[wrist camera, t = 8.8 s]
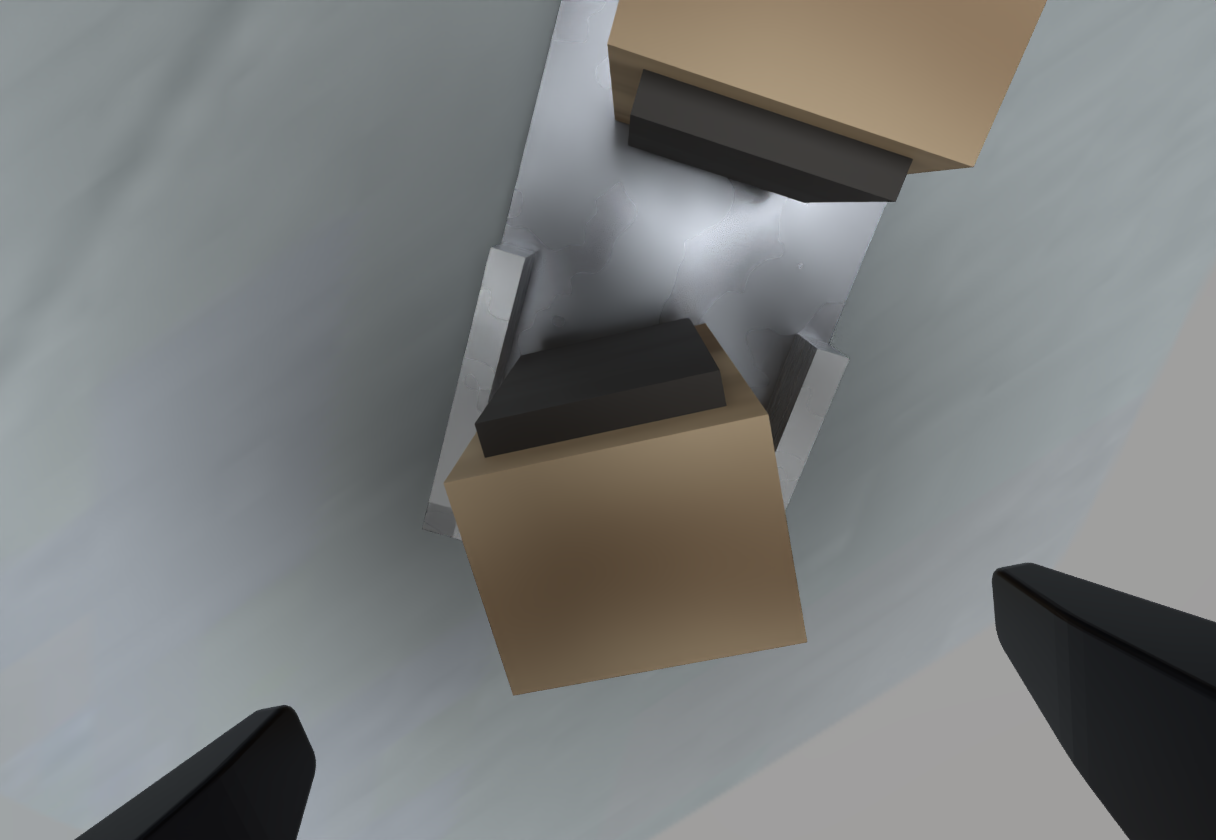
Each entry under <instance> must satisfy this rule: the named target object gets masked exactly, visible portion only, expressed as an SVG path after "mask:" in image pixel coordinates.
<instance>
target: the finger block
mask: <svg viewBox="0 0 1216 840" xmlns="http://www.w3.org/2000/svg"><path fill="white" fill-rule="evenodd" d="M475 428H476V431H477V432H476V434H475V435H474V437H473V438H472V440H471V441H470V443H469V444H468V446H467V447H466V449H465V451H464V452H463V454H462V455H461V457H460V458H459V460H458V461H457V463H456V464H455V466H454V468H453V469H452V471H451V472H450V474H449V475H448V477H447V478H446V480H445V481H444V483H443V484H444V487H445V490H446V493H447V496H448V499H449V502H450V505H451V508H452V511H453V514H454V517H455V520H456V523H457V526H458V529H459V532H460V535H461V538H462V541H463V544H464V547H465V550H466V554H467V557H468V560H469V563H470V566H471V569H472V572H473V575H474V578H475V581H476V584H477V587H478V590H479V593H480V596H481V599H482V602H483V605H484V608H485V611H486V614H487V617H488V620H489V623H490V626H491V629H492V632H493V635H494V638H495V641H496V644H497V648H498V651H499V654H500V657H501V660H502V663H503V666H504V669H505V672H506V675H507V678H508V681H509V684H510V687H511V690H512V693H513V696H514V695H519V694H525V693H530V692H536V691H541V690H547V689H552V688H558V687H563V686H569V685H574V684H580V683H585V682H591V681H596V680H602V679H608V678H613V677H619V676H624V675H630V674H635V673H641V672H646V671H652V670H657V669H663V668H668V667H674V666H679V665H685V664H690V663H696V662H701V661H707V660H712V659H718V658H723V657H729V656H734V655H740V654H745V653H751V652H757V651H762V650H768V649H773V648H779V647H784V646H790V645H795V644H801V643H806V642H807V638H806V632H805V626H804V620H803V614H802V609H801V603H800V597H799V591H798V585H797V579H796V573H795V568H794V562H793V556H792V550H791V544H790V538H789V532H788V526H787V521H786V515H785V509H784V503H783V497H782V491H781V485H780V480H779V474H778V468H777V462H776V456H775V450H774V444H773V439H772V433H771V427H770V421H769V415H768V413H767V412H766V410H765V409H764V407H763V406H762V404H761V403H760V401H759V400H758V399H757V397H756V396H755V394H754V393H753V391H752V390H751V388H750V387H749V386H748V384H747V383H746V381H745V380H744V378H743V377H742V375H741V374H740V372H739V371H738V370H737V368H736V367H735V365H734V364H733V362H732V361H731V359H730V358H729V357H728V355H727V354H726V352H725V351H724V349H723V348H722V346H721V345H720V344H719V342H718V341H717V339H716V338H715V336H714V335H713V333H712V332H711V331H710V329H709V328H708V326H707V325H706V323H705V324H700V325H696V326H694V325H693V323H692V321H691V320H690V318H689V317H688V318H684V319H679V320H675V321H671V322H666V323H662V324H657V325H653V326H649V327H644V328H640V329H635V330H631V331H627V332H622V333H618V334H613V335H609V336H605V337H600V338H596V339H591V340H587V341H583V342H578V343H574V344H569V345H565V346H561V347H556V348H552V349H547V350H543V351H539V352H534V353H530V354H525V355H521V356H520V358H519V359H518V361H517V362H516V363H515V365H514V366H513V368H512V369H511V371H510V372H509V374H508V375H507V377H506V378H505V380H504V381H503V383H502V384H501V386H500V387H499V388H498V390H497V391H496V393H495V394H494V396H493V397H492V399H491V400H490V402H489V403H488V405H487V406H486V408H485V409H484V411H483V412H482V413H481V415H480V416H479V418H478V419H477V421H476V422H475Z"/></svg>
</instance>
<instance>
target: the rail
mask: <svg viewBox="0 0 1216 840" xmlns="http://www.w3.org/2000/svg"><path fill="white" fill-rule="evenodd" d="M618 2H619V0H561V4H560V8H559V12H558V16H557V20H556V24H555V28H554V32H553V36H552V40H551V44H550V48H549V52H548V56H547V60H546V64H545V68H544V72H543V76H542V80H541V84H540V88H539V92H538V97H537V101H536V105H535V109H534V113H533V117H532V121H531V125H530V129H529V133H528V137H527V141H526V145H525V149H524V153H523V157H522V161H521V165H520V169H519V173H518V177H517V181H516V185H515V189H514V193H513V197H512V202H511V206H510V210H509V214H508V218H507V222H506V226H505V230H504V234H503V238H502V242H501V244H499V245H495V246H492V247H491V248H490V252H489V256H488V260H487V264H486V268H485V273H484V277H483V281H482V285H481V289H480V293H479V297H478V301H477V305H476V309H475V314H474V318H473V322H472V326H471V330H470V334H469V338H468V342H467V346H466V351H465V355H464V359H463V363H462V367H461V371H460V375H459V379H458V383H457V388H456V392H455V396H454V400H453V404H452V408H451V412H450V416H449V420H448V425H447V429H446V433H445V437H444V441H443V445H442V449H441V453H440V457H439V462H438V466H437V470H436V474H435V478H434V482H433V486H432V490H431V494H430V498H429V503H428V507H427V511H426V515H425V519H424V523H423V527H422V529H423V530H427V531H431V532H434V533H438V534H441V535H445V536H448V537H452V538H456V539H459V540H462V538H461V535H460V532H459V529H458V526H457V523H456V520H455V517H454V514H453V511H452V508H451V505H450V502H449V499H448V496H447V493H446V490H445V487H444V484H443V483H444V481H445V480H446V478H447V477H448V475H449V474H450V472H451V471H452V469H453V468H454V466H455V464H456V463H457V461H458V460H459V458H460V457H461V455H462V454H463V452H464V451H465V449H466V447H467V446H468V444H469V443H470V441H471V440H472V438H473V437H474V435H475V434H476V432H477V431H476V428H475V422H476V421H477V419H478V418H479V416H480V415H481V413H482V412H483V411H484V409H485V408H486V406H487V405H488V403H489V402H490V400H491V399H492V397H493V396H494V394H495V393H496V391H497V390H498V388H499V387H500V386H501V384H502V383H503V381H504V380H505V378H506V377H507V375H508V374H509V372H510V371H511V369H512V368H513V366H514V365H515V363H516V362H517V361H518V359H519V358H520V356H521V355H525V354H530V353H534V352H539V351H543V350H547V349H552V348H556V347H561V346H565V345H569V344H574V343H578V342H583V341H587V340H591V339H596V338H600V337H605V336H609V335H613V334H618V333H622V332H627V331H631V330H635V329H640V328H644V327H649V326H653V325H657V324H662V323H666V322H671V321H675V320H679V319H684V318H688V317H689V318H690V320H691V321H692V323H693V325H694V326H696V325H700V324H705V323H706V325H707V326H708V328H709V329H710V331H711V332H712V333H713V335H714V336H715V338H716V339H717V341H718V342H719V344H720V345H721V346H722V348H723V349H724V351H725V352H726V354H727V355H728V357H729V358H730V359H731V361H732V362H733V364H734V365H735V367H736V368H737V370H738V371H739V372H740V374H741V375H742V377H743V378H744V380H745V381H746V383H747V384H748V386H749V387H750V388H751V390H752V391H753V393H754V394H755V396H756V397H757V399H758V400H759V401H760V403H761V404H762V406H763V407H764V409H765V410H766V412H767V413H768V415H769V421H770V427H771V433H772V439H773V444H774V450H775V456H776V462H777V468H778V474H779V480H780V485H781V491H782V497H783V503H784V509H785V511H786V509H787V506H788V504H789V501H790V499H791V497H792V494H793V492H794V490H795V487H796V485H797V483H798V480H799V478H800V475H801V473H802V471H803V468H804V466H805V464H806V461H807V459H808V457H809V454H810V452H811V449H812V447H813V445H814V442H815V440H816V438H817V435H818V433H819V431H820V428H821V426H822V423H823V421H824V419H825V416H826V414H827V412H828V409H829V407H830V405H831V402H832V400H833V397H834V395H835V393H836V390H837V388H838V386H839V383H840V381H841V379H842V376H843V374H844V371H845V369H846V367H847V364H848V362H849V360H850V358H848V357H847V356H845V355H844V354H842V353H841V352H839V351H838V350H836V349H835V348H833V347H832V346H831V345H829V342H830V340H831V337H832V335H833V332H834V330H835V327H836V325H837V323H838V320H839V318H840V315H841V313H842V310H843V308H844V305H845V303H846V301H847V298H848V296H849V293H850V291H851V288H852V286H853V284H854V281H855V279H856V276H857V274H858V271H859V269H860V266H861V264H862V262H863V259H864V257H865V254H866V252H867V249H868V247H869V245H870V242H871V240H872V237H873V235H874V232H875V230H876V227H877V225H878V223H879V220H880V218H881V215H882V213H883V210H884V208H885V206H886V203H887V202H823V203H803V202H800V201H797V200H794V199H791V198H788V197H785V196H782V195H779V194H776V193H773V192H770V191H767V190H763V189H760V188H757V187H754V186H751V185H748V184H745V183H742V182H739V181H736V180H733V179H730V178H727V177H724V176H721V175H717V174H714V173H711V172H708V171H705V170H702V169H699V168H696V167H693V166H690V165H687V164H684V163H681V162H678V161H675V160H671V159H668V158H665V157H662V156H659V155H656V154H653V153H650V152H647V151H644V150H641V149H638V148H635V147H632V146H629V145H628V138H629V124H626V123H623V122H620V121H617V120H615V115H614V106H613V96H612V86H611V76H610V66H609V56H608V47H607V43H608V39H609V36H610V32H611V28H612V24H613V21H614V17H615V13H616V10H617V6H618Z"/></svg>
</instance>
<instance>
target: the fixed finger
mask: <svg viewBox="0 0 1216 840" xmlns="http://www.w3.org/2000/svg"><path fill="white" fill-rule="evenodd" d="M1046 2H1047V0H619V2H618V6H617V10H616V13H615V17H614V21H613V24H612V28H611V32H610V36H609V39H608V43H607V47H608V56H609V66H610V76H611V86H612V96H613V106H614V115H615V120H617V121H620V122H623V123H626V124H629V138H628V145H629V146H632V147H635V148H638V149H641V150H644V151H647V152H650V153H653V154H656V155H659V156H662V157H665V158H668V159H671V160H675V161H678V162H681V163H684V164H687V165H690V166H693V167H696V168H699V169H702V170H705V171H708V172H711V173H714V174H717V175H721V176H724V177H727V178H730V179H733V180H736V181H739V182H742V183H745V184H748V185H751V186H754V187H757V188H760V189H763V190H767V191H770V192H773V193H776V194H779V195H782V196H785V197H788V198H791V199H794V200H797V201H800V202H803V203H823V202H896V199H897V197H898V194H899V192H900V190H901V187H902V185H903V182H904V180H905V178H906V175H907V174H913V173H922V172H931V171H941V170H950V169H959V168H969V167H974V165H975V163H976V160H977V158H978V156H979V153H980V151H981V149H982V147H983V144H984V142H985V140H986V138H987V135H988V133H989V131H990V129H991V126H992V124H993V122H994V119H995V117H996V115H997V113H998V110H999V108H1000V106H1001V104H1002V101H1003V99H1004V97H1005V94H1006V92H1007V90H1008V88H1009V85H1010V83H1011V81H1012V79H1013V76H1014V74H1015V72H1016V70H1017V67H1018V65H1019V63H1020V60H1021V58H1022V56H1023V54H1024V51H1025V49H1026V47H1027V45H1028V42H1029V40H1030V38H1031V36H1032V33H1033V31H1034V29H1035V26H1036V24H1037V22H1038V20H1039V17H1040V15H1041V13H1042V11H1043V8H1044V6H1045V4H1046Z"/></svg>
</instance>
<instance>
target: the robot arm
mask: <svg viewBox="0 0 1216 840" xmlns="http://www.w3.org/2000/svg"><path fill="white" fill-rule="evenodd" d="M992 588H993V600H994V612H995V624H996V631H997V635H998V638H999V641H1000V643H1001V645H1002V647H1003V649H1004V651H1005V653H1006V654H1007V656H1008V657H1009V659H1010V661H1011V662H1012V664H1013V666H1014V667H1015V669H1016V670H1017V672H1018V674H1019V676H1020V677H1021V679H1022V681H1023V682H1024V684H1025V686H1026V687H1027V689H1028V691H1029V692H1030V694H1031V695H1032V697H1033V699H1034V700H1035V702H1036V704H1037V705H1038V707H1039V709H1040V710H1041V712H1042V714H1043V715H1044V717H1045V718H1046V720H1047V722H1048V723H1049V725H1050V727H1051V729H1052V730H1053V732H1054V734H1055V735H1056V737H1057V739H1058V740H1059V742H1060V743H1061V745H1062V747H1063V748H1064V750H1065V751H1066V753H1067V754H1068V756H1069V758H1070V759H1071V761H1072V762H1073V764H1074V765H1075V767H1076V768H1077V770H1078V771H1079V772H1080V774H1081V775H1082V777H1083V778H1084V779H1085V781H1086V782H1087V784H1088V785H1089V786H1090V788H1091V789H1092V790H1093V792H1094V793H1095V794H1096V796H1097V797H1098V798H1099V800H1100V801H1101V802H1102V804H1103V805H1104V806H1105V808H1106V809H1107V810H1108V812H1109V813H1110V814H1111V816H1112V817H1113V818H1114V820H1115V821H1116V822H1117V823H1118V825H1119V826H1120V827H1121V828H1122V830H1123V831H1124V833H1125V834H1126V835H1127V837H1128V838H1129V839H1130V840H1216V622H1213V621H1210V620H1207V619H1204V618H1201V617H1198V616H1195V615H1192V614H1189V613H1186V612H1183V611H1179V610H1176V609H1173V608H1170V607H1167V606H1164V605H1161V604H1158V603H1155V602H1151V601H1149V600H1145V599H1142V598H1139V597H1136V596H1133V595H1130V594H1127V593H1124V592H1121V591H1118V590H1114V589H1111V588H1108V587H1105V586H1102V585H1099V584H1096V583H1093V582H1090V581H1087V580H1084V579H1080V578H1077V577H1074V576H1071V575H1068V574H1065V573H1062V572H1059V571H1056V570H1053V569H1049V568H1046V567H1043V566H1040V565H1037V564H1034V563H1022V564H1017V565H1012V566H1007V567H1002V568H998V569H996V571H995V572H994V573H993V577H992ZM315 768H316V759H315V754H314V751H313V749H312V746H311V744H310V742H309V740H308V738H307V735H306V733H305V731H304V729H303V727H302V724H301V722H300V720H299V718H298V715H297V713H296V712H295V710H294V709H293V708H292V707H290V706H287V705H282V706H276V707H271V708H266V709H260V710H258V711H256V712H254V713H252V714H251V715H250V716H248V717H247V718H245V719H244V720H243V721H241V722H240V723H238V724H237V725H236V726H234V727H233V728H231V729H230V730H228V731H227V732H226V733H224V734H223V735H221V736H220V737H219V738H217V739H216V740H214V741H213V742H212V743H210V744H209V745H207V746H206V747H204V748H203V749H202V750H200V751H199V752H197V753H196V754H195V755H193V756H192V757H190V758H189V759H188V760H186V761H185V762H183V763H182V764H180V765H179V766H178V767H176V768H175V769H173V770H172V771H171V772H169V773H168V774H166V775H165V776H164V777H162V778H161V779H159V780H158V781H156V782H155V783H154V784H152V785H151V786H149V787H148V788H147V789H145V790H144V791H142V792H141V793H140V794H138V795H137V796H135V797H134V798H133V799H131V800H130V801H128V802H127V803H125V804H124V805H123V806H121V807H120V808H118V809H117V810H116V811H114V812H113V813H111V814H110V815H109V816H107V817H106V818H104V819H103V820H101V821H100V822H99V823H97V824H96V825H94V826H93V827H92V828H90V829H89V830H87V831H86V832H85V833H83V834H82V835H80V836H79V837H77V838H76V839H75V840H296V839H297V835H298V832H299V828H300V825H301V821H302V818H303V814H304V810H305V807H306V803H307V800H308V796H309V793H310V789H311V786H312V782H313V779H314V775H315Z"/></svg>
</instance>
